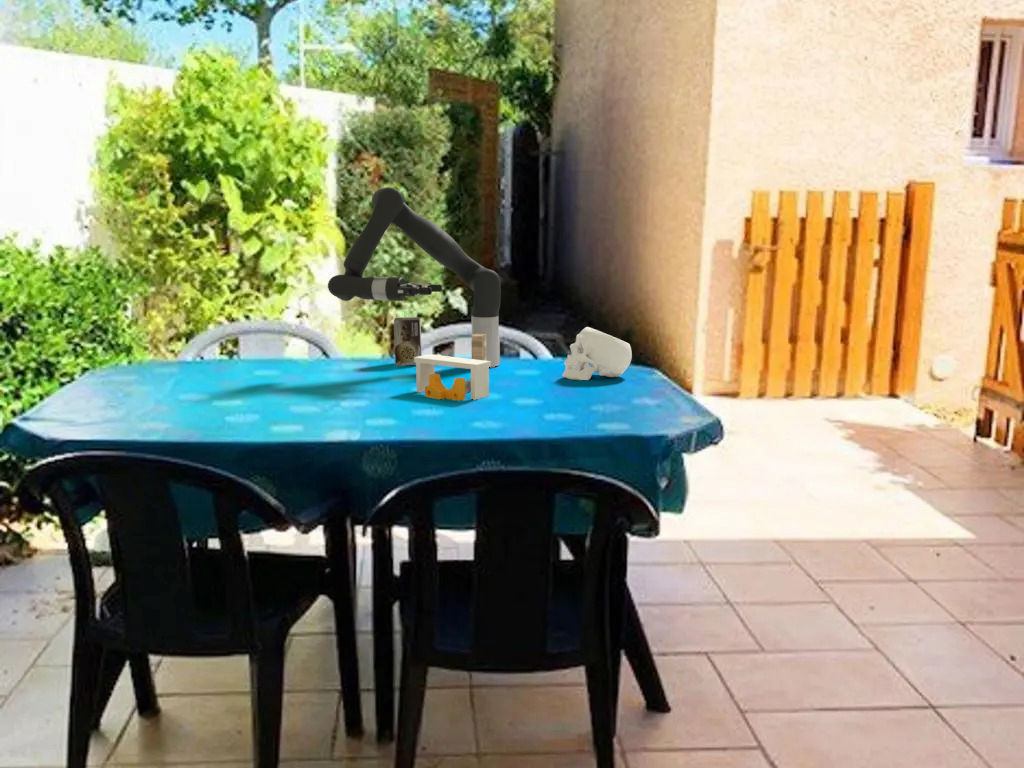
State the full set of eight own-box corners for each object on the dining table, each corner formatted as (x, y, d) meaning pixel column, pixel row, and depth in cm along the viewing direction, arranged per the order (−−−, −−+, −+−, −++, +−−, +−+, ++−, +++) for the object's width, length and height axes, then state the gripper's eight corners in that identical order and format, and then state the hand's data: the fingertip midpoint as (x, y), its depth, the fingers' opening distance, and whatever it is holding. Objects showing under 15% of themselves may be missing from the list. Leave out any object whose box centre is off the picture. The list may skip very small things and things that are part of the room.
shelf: (429, 387, 312) (428, 354, 310) (491, 396, 300) (490, 361, 298) (414, 391, 306) (414, 357, 304) (477, 400, 294) (477, 364, 292)
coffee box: (422, 362, 356) (421, 316, 353) (421, 365, 350) (420, 319, 347) (396, 362, 356) (395, 316, 353) (394, 366, 350) (393, 319, 347)
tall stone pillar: (475, 384, 317) (475, 333, 314) (486, 385, 316) (486, 334, 313) (451, 397, 298) (450, 343, 295) (462, 398, 297) (461, 344, 294)
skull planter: (552, 368, 334) (579, 317, 332) (604, 395, 338) (632, 344, 336) (559, 376, 320) (588, 322, 318) (614, 403, 324) (642, 351, 322)
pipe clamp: (425, 397, 300) (424, 375, 298) (435, 394, 303) (435, 373, 302) (455, 402, 292) (455, 380, 291) (465, 400, 295) (465, 378, 294)
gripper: (379, 279, 316) (427, 279, 311) (398, 274, 330) (444, 275, 325) (380, 303, 318) (428, 304, 313) (398, 297, 331) (445, 298, 326)
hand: (436, 289), depth 319 cm, fingers open, 8 cm apart
